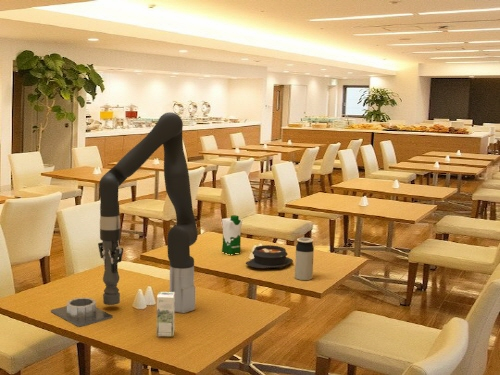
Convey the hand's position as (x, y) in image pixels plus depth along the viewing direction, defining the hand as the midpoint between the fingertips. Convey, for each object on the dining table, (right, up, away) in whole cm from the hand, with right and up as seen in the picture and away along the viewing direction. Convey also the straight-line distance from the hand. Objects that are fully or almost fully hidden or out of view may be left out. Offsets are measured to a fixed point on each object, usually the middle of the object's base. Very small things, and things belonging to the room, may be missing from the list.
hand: (110, 271), depth 241 cm
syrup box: (+24, -19, -21) cm, 37 cm away
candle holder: (0, -12, +2) cm, 12 cm away
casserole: (+62, -6, +67) cm, 91 cm away
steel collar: (-10, -15, -5) cm, 19 cm away
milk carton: (+43, -2, +87) cm, 97 cm away
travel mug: (+77, -10, +48) cm, 91 cm away
